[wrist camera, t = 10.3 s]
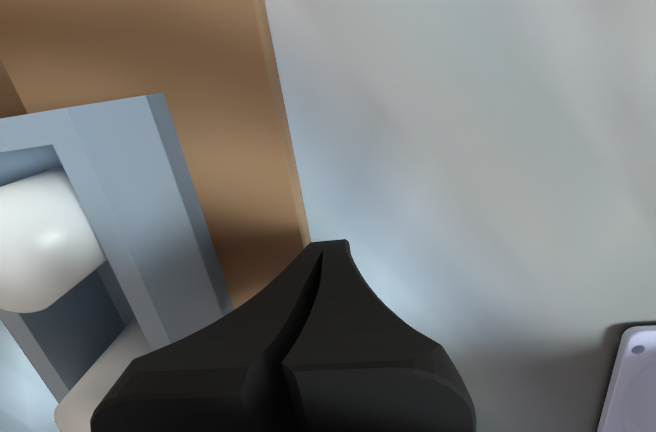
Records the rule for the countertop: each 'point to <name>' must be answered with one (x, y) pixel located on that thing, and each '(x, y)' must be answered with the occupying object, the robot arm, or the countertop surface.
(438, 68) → the countertop surface
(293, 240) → the shelf
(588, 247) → the countertop surface
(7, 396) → the countertop surface
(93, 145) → the tray
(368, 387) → the robot arm
